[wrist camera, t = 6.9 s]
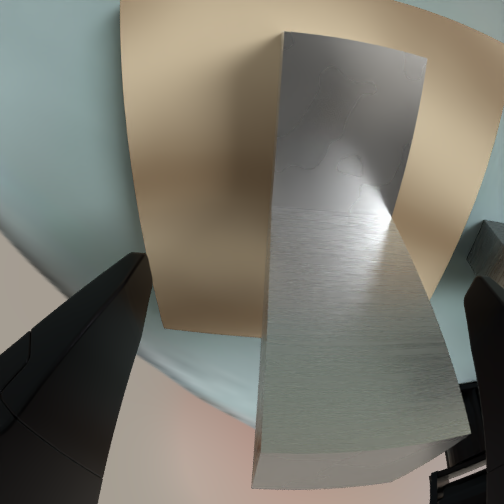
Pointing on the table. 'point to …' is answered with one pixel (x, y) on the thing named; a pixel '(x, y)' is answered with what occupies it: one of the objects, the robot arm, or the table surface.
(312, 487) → the brushed metal step block
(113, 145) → the table surface
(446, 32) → the board
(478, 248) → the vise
